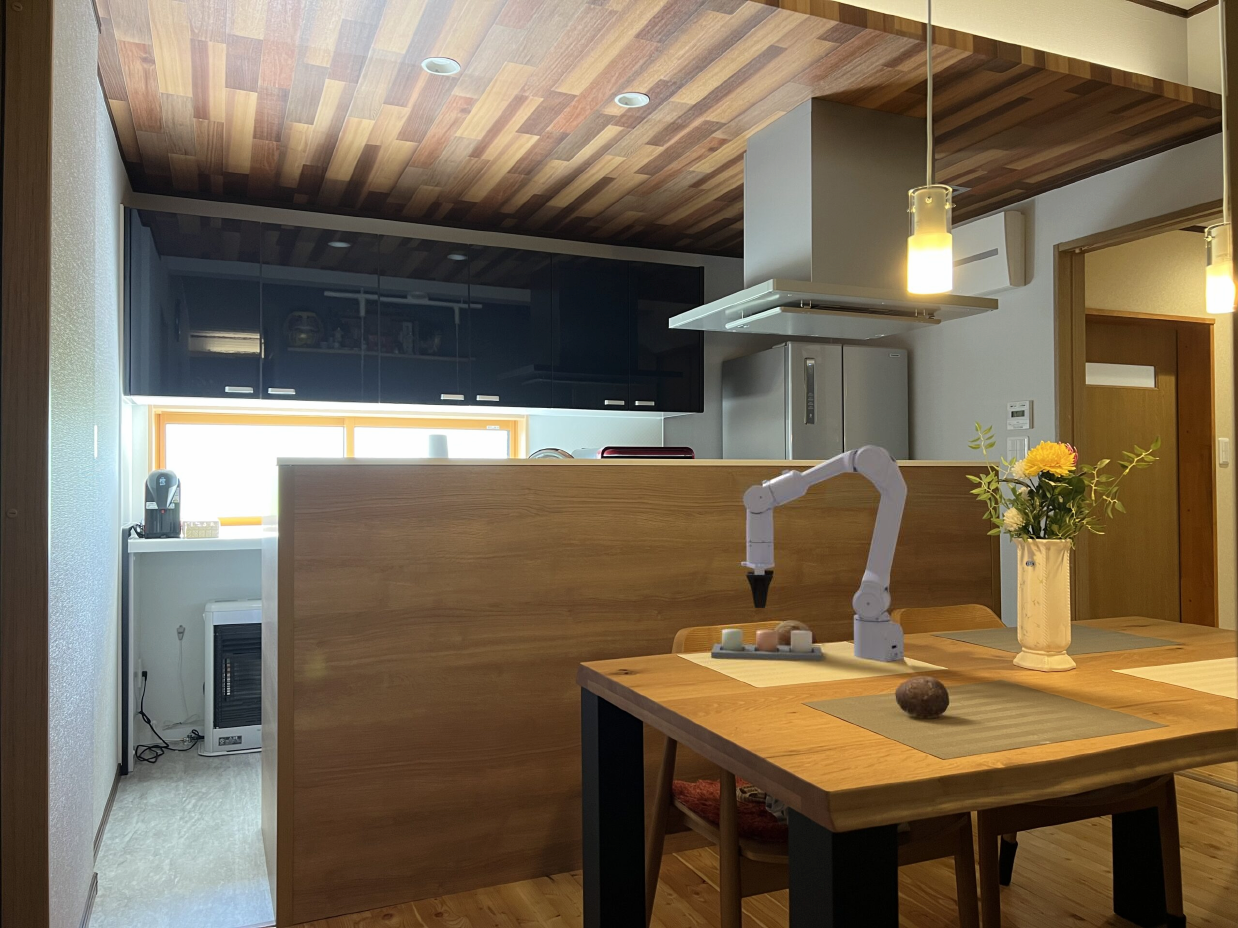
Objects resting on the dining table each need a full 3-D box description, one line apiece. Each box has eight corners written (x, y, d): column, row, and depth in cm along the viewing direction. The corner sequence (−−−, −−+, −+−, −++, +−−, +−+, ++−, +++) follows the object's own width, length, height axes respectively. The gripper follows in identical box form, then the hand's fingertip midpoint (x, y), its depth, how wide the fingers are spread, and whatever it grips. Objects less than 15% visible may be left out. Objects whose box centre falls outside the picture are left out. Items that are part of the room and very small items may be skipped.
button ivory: (811, 654, 193) (811, 630, 193) (812, 657, 189) (812, 633, 189) (790, 653, 194) (790, 630, 194) (791, 657, 190) (791, 633, 190)
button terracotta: (777, 653, 194) (777, 629, 194) (777, 656, 190) (776, 633, 190) (756, 652, 195) (756, 629, 195) (756, 656, 191) (756, 632, 191)
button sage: (743, 652, 195) (742, 629, 195) (742, 655, 191) (742, 632, 191) (722, 651, 196) (722, 628, 196) (721, 655, 192) (721, 631, 192)
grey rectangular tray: (820, 658, 195) (820, 646, 196) (822, 667, 186) (822, 655, 186) (714, 655, 199) (714, 643, 199) (711, 664, 189) (711, 652, 189)
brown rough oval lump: (910, 684, 155) (914, 658, 151) (955, 710, 150) (960, 683, 146) (884, 714, 150) (888, 688, 147) (929, 741, 145) (934, 714, 142)
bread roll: (769, 661, 212) (756, 630, 211) (802, 639, 216) (790, 608, 215) (794, 669, 203) (781, 636, 202) (829, 645, 207) (816, 613, 206)
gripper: (742, 539, 209) (742, 601, 208) (739, 543, 194) (740, 609, 194) (774, 540, 207) (774, 601, 207) (774, 544, 193) (774, 610, 193)
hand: (760, 605), depth 201 cm, fingers open, 6 cm apart
